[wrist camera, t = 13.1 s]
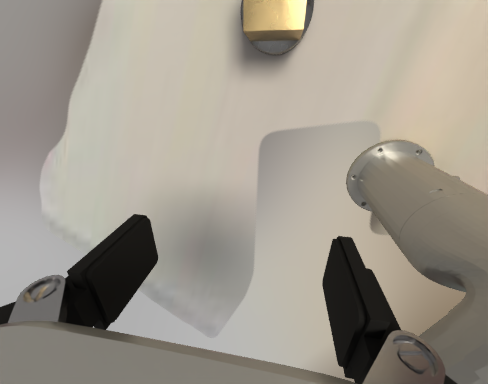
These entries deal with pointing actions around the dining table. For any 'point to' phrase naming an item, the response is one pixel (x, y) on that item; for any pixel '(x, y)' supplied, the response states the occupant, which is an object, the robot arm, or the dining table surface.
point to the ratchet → (282, 46)
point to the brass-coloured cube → (273, 19)
